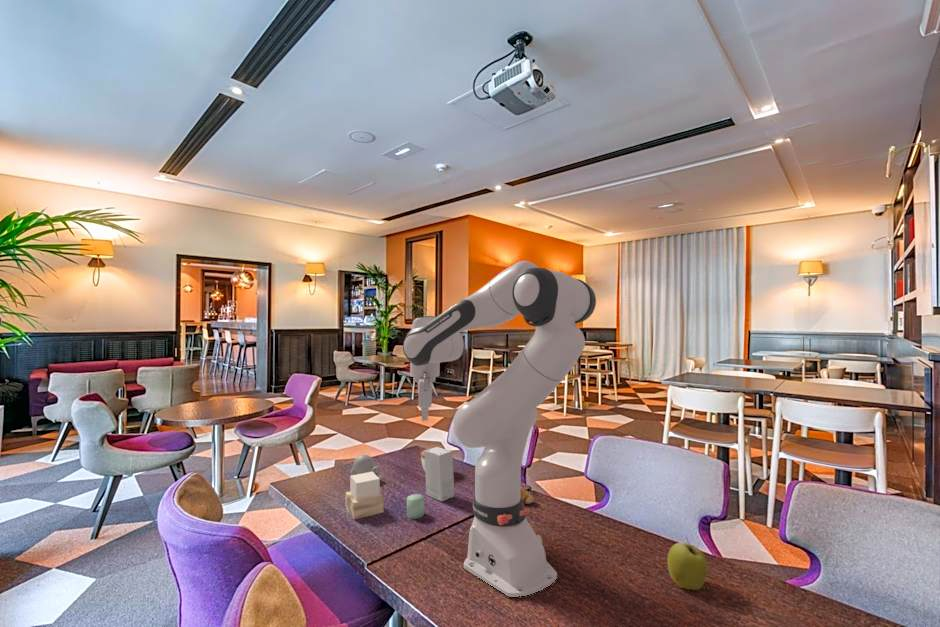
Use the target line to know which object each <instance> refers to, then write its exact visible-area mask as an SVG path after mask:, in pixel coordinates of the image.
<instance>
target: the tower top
mask: <svg viewBox="0 0 940 627" xmlns="http://www.w3.org/2000/svg"><path fill="white" fill-rule="evenodd" d="M380 480H381V479H379V478H378V477H377V476H376V475H375V474H374V472H373V471H372V472H367V473H362V474H357V475H350V476H349V484H350V485H349V489H350V490H349V491H350V493H351V494H352V495H353V497H354V498H355V499H356V501H357V500H361V499H366V498H370V497H375V496H379V495H380V493H381V491H380V490H381V488H380V484H381V483H380V482H381V481H380Z"/></svg>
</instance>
